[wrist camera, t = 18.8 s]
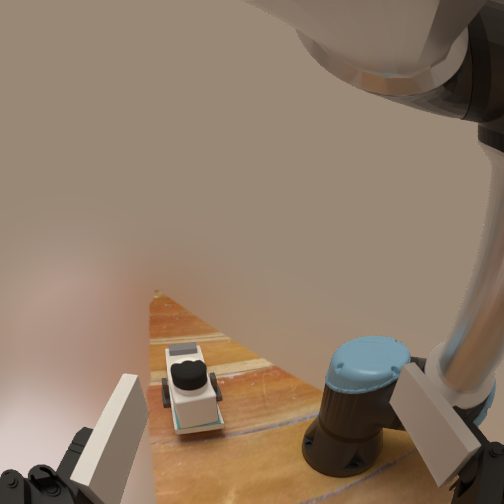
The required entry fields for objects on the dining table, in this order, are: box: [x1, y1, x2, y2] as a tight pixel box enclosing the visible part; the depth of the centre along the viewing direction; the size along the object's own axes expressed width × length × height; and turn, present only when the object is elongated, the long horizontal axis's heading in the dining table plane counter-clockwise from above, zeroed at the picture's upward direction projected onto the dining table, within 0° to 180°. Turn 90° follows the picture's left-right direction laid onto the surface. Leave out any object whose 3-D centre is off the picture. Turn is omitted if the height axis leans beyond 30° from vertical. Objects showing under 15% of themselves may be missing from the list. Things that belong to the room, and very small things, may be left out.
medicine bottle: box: [168, 357, 219, 428], centre depth 43 cm, size 7×7×12 cm
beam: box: [165, 342, 224, 434], centre depth 54 cm, size 28×9×3 cm, turn 18°
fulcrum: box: [162, 373, 222, 408], centre depth 55 cm, size 6×13×5 cm, turn 108°
